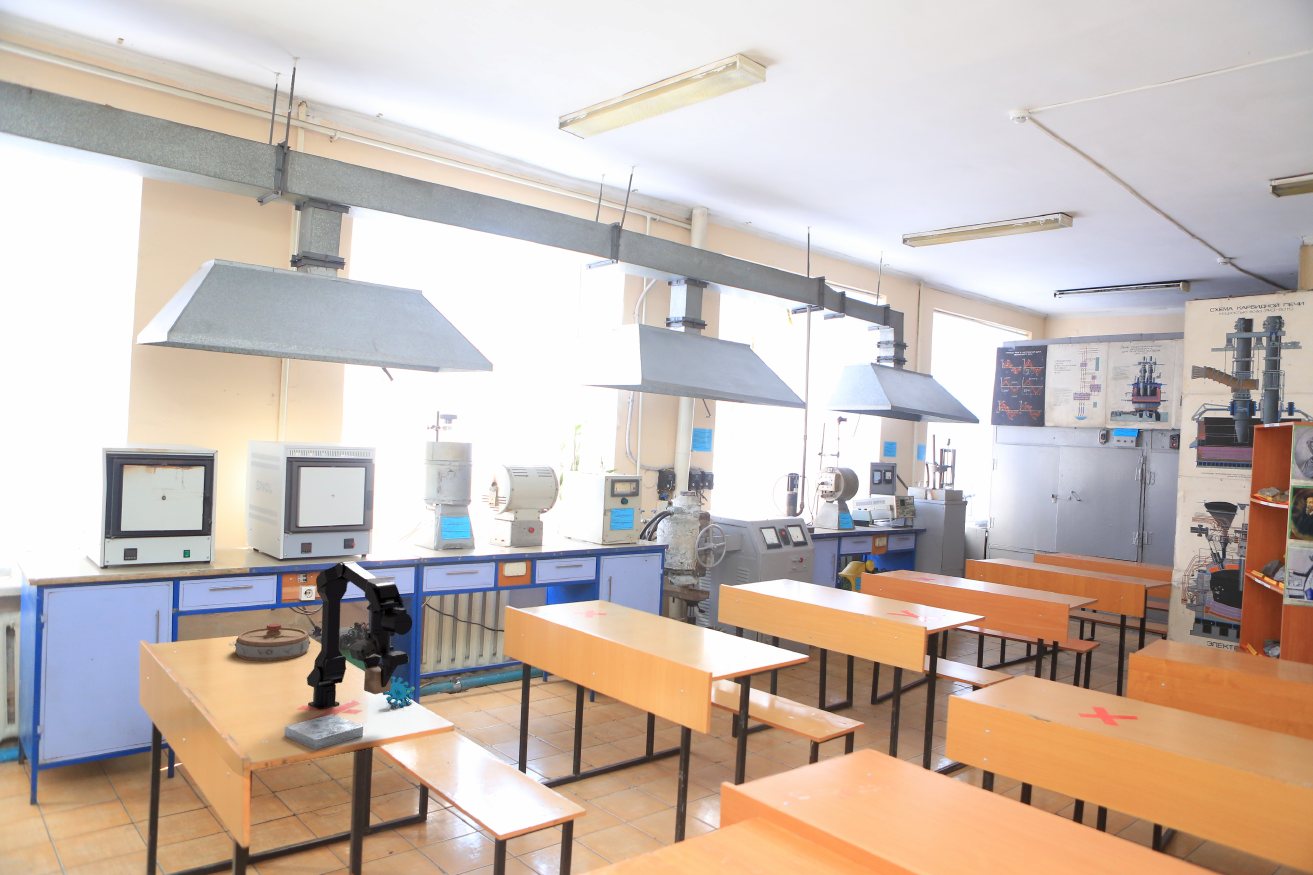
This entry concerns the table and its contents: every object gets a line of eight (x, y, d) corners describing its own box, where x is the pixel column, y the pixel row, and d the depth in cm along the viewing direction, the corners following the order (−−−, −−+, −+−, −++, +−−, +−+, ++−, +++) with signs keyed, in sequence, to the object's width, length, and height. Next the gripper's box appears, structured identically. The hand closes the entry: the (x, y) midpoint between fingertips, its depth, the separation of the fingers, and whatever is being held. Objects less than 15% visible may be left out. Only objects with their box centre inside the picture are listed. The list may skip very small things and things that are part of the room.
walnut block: (363, 690, 231) (365, 668, 231) (379, 686, 235) (380, 665, 235) (375, 694, 228) (376, 672, 228) (390, 690, 232) (391, 668, 232)
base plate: (284, 735, 222) (285, 726, 222) (332, 722, 233) (332, 713, 233) (314, 749, 214) (315, 739, 214) (362, 735, 225) (363, 726, 225)
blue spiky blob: (390, 705, 245) (380, 675, 251) (379, 716, 248) (369, 686, 253) (421, 702, 254) (411, 673, 259) (410, 713, 256) (400, 684, 261)
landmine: (260, 665, 284) (262, 636, 284) (221, 652, 297) (222, 624, 297) (322, 652, 304) (324, 625, 304) (283, 641, 317) (284, 614, 317)
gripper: (334, 626, 231) (331, 683, 231) (376, 638, 220) (373, 698, 220) (369, 620, 240) (366, 675, 240) (411, 632, 229) (408, 689, 229)
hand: (377, 684), depth 232 cm, fingers closed on walnut block, 5 cm apart
